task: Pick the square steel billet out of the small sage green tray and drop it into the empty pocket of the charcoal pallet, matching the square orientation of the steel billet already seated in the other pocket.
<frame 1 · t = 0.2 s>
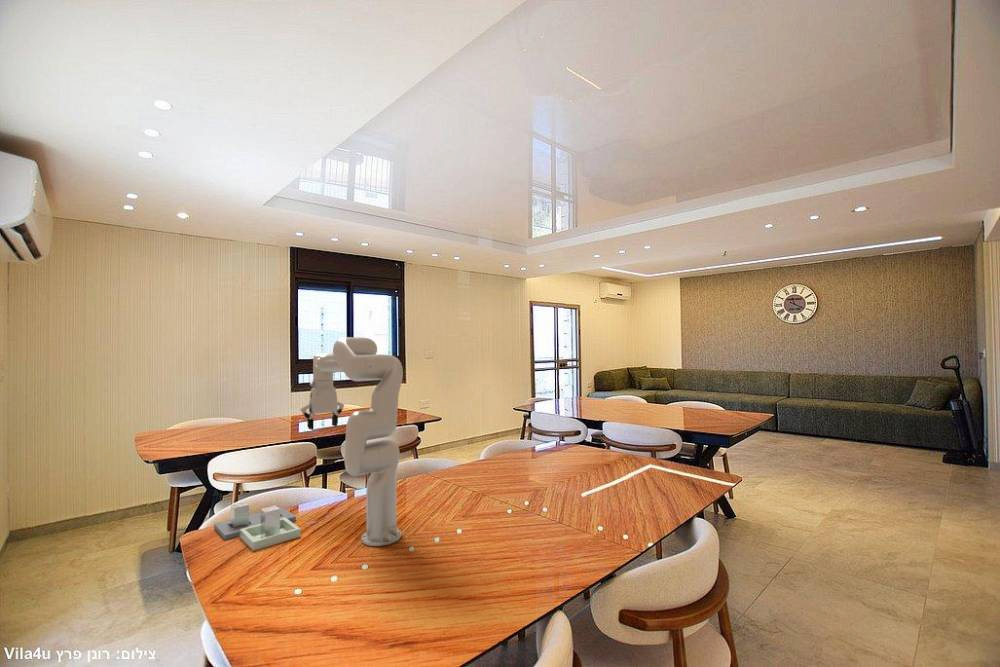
hand: (322, 427, 175), 31 cm above the table, tool pointing down, fingers open, 9 cm apart
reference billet: (239, 531, 149), resting in pallet
billet: (270, 536, 142), point 1 cm above the table, touching tray
tray: (270, 539, 142), on the table
pallet: (255, 527, 153), on the table
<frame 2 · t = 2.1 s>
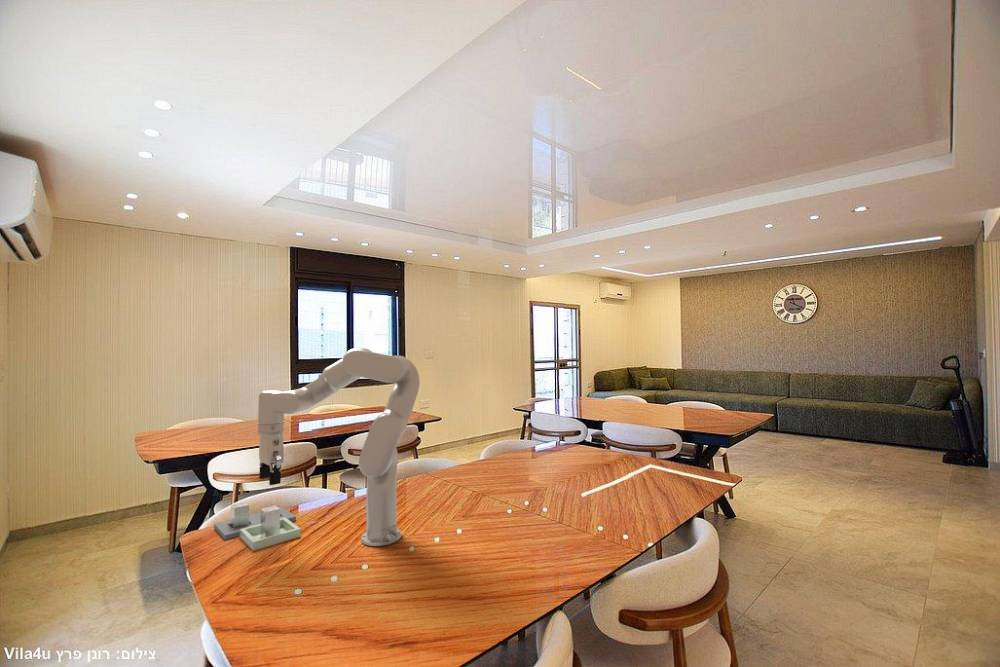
hand: (269, 481, 143), 19 cm above the table, tool pointing down, fingers open, 9 cm apart
nothing on the table moved.
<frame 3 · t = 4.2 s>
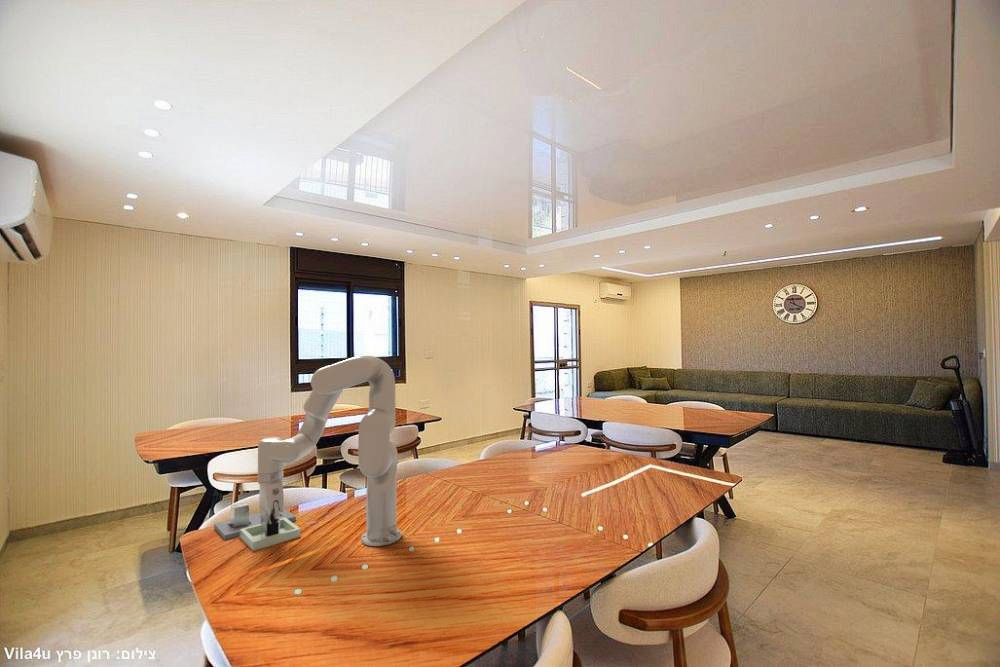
hand: (270, 532, 142), 2 cm above the table, tool pointing down, fingers closed on billet, 4 cm apart
billet: (270, 536, 142), point 1 cm above the table, touching gripper, tray
everything else where it was.
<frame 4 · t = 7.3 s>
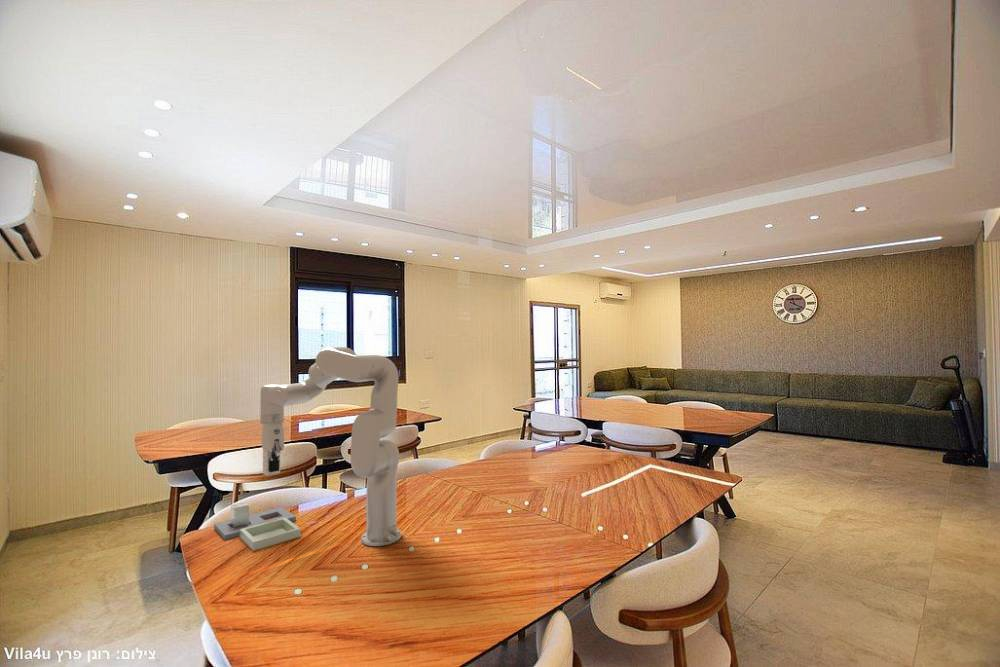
hand: (271, 469, 157), 19 cm above the table, tool pointing down, fingers closed on billet, 4 cm apart
billet: (271, 473, 157), point 18 cm above the table, touching gripper
everything else where it was.
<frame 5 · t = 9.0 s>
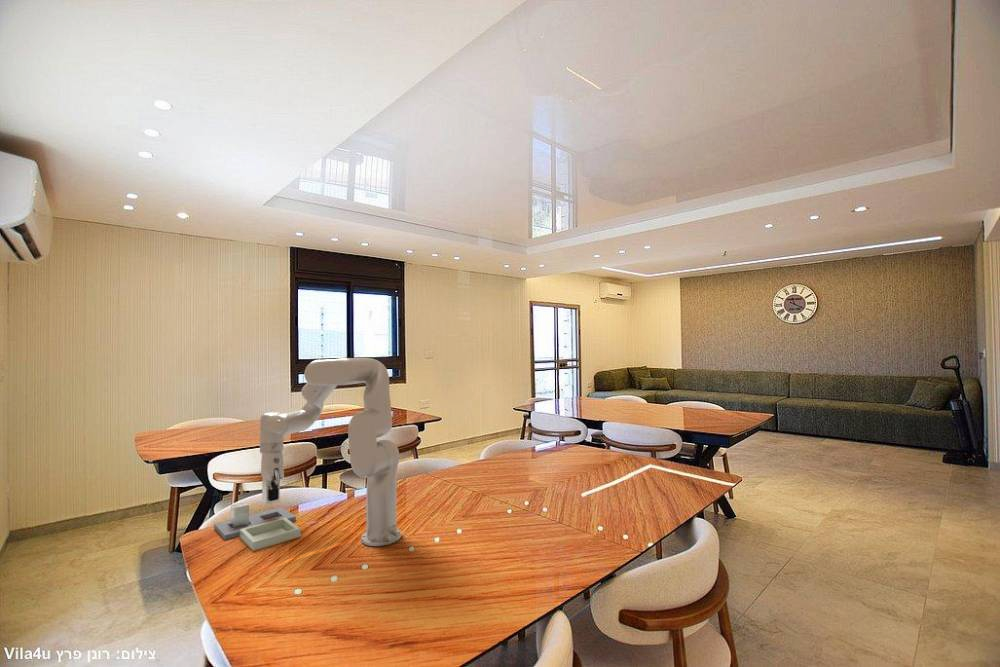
hand: (271, 497, 157), 9 cm above the table, tool pointing down, fingers closed on billet, 4 cm apart
billet: (270, 501, 157), point 8 cm above the table, touching gripper
everything else where it was.
when the fingers open (4 cm above the table, at t = 10.4 s): billet drops 2 cm, resting in pallet.
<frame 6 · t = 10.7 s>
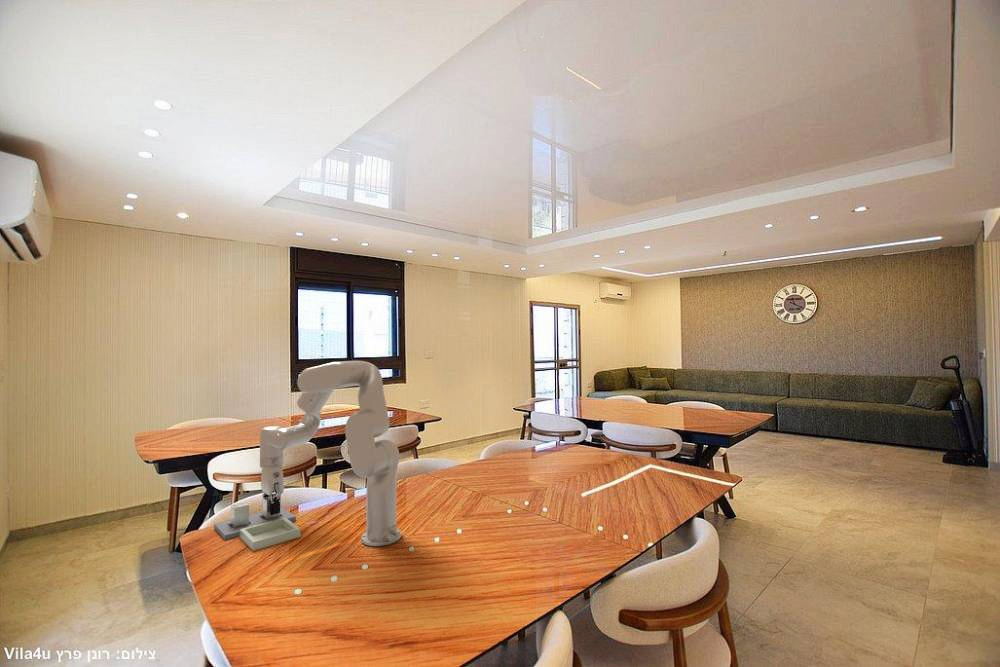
hand: (271, 510, 157), 4 cm above the table, tool pointing down, fingers open, 7 cm apart
billet: (271, 523, 156), resting in pallet
everything else where it was.
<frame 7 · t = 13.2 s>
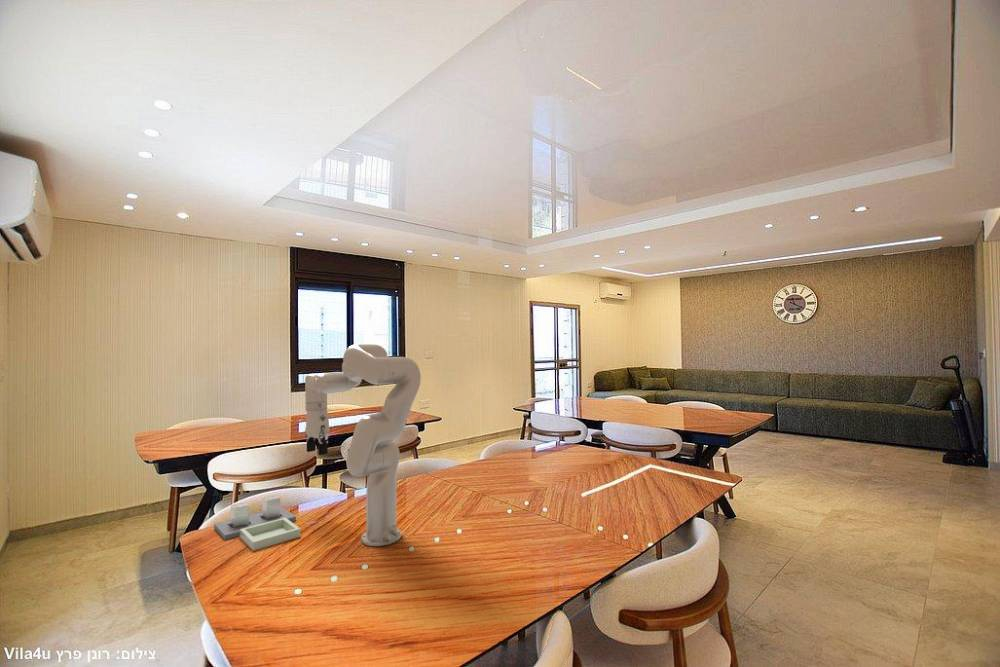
hand: (317, 452, 163), 23 cm above the table, tool pointing down, fingers open, 9 cm apart
nothing on the table moved.
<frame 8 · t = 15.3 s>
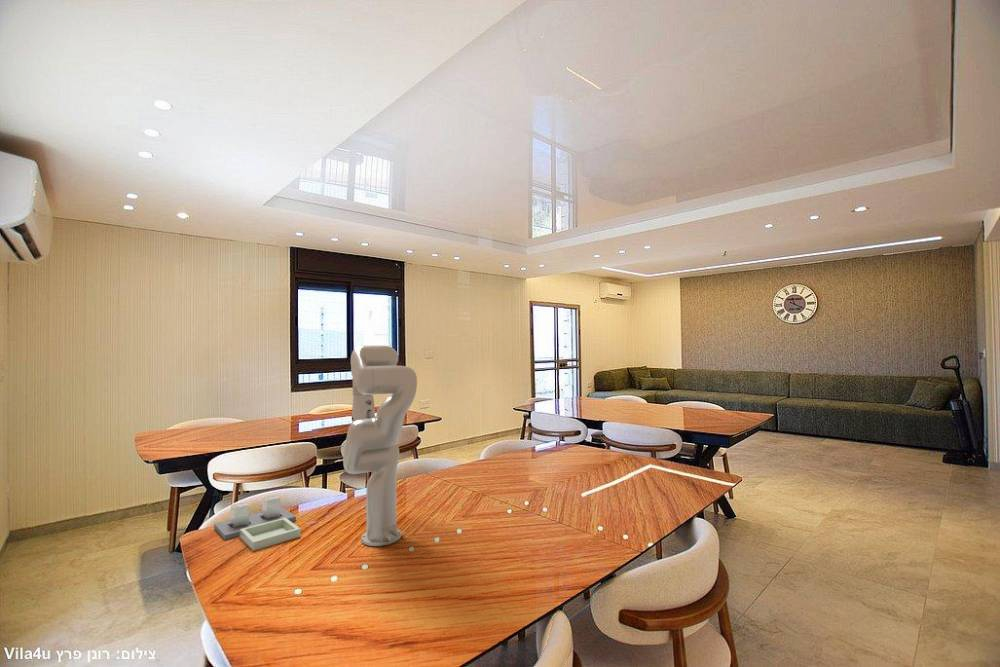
hand: (362, 435, 170), 28 cm above the table, tool pointing down, fingers open, 9 cm apart
nothing on the table moved.
at the end: billet 0.1 cm from the target spot on the pallet, point 0.0 cm above the pallet's base; billet tilted 0°; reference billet moved 0.0 cm from its start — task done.
